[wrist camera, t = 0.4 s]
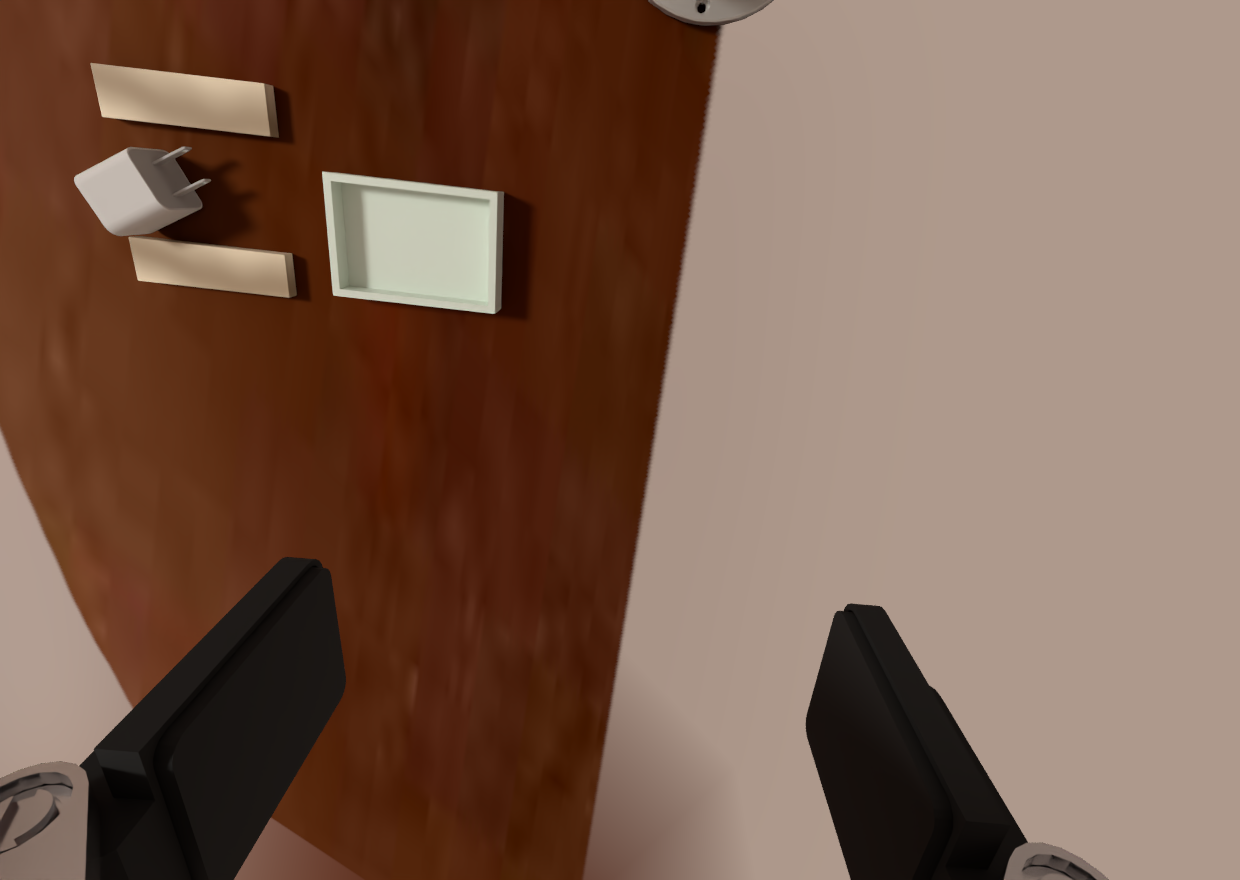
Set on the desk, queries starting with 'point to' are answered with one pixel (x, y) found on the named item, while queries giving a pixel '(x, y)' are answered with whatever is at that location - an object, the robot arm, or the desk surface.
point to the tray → (414, 242)
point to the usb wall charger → (139, 190)
